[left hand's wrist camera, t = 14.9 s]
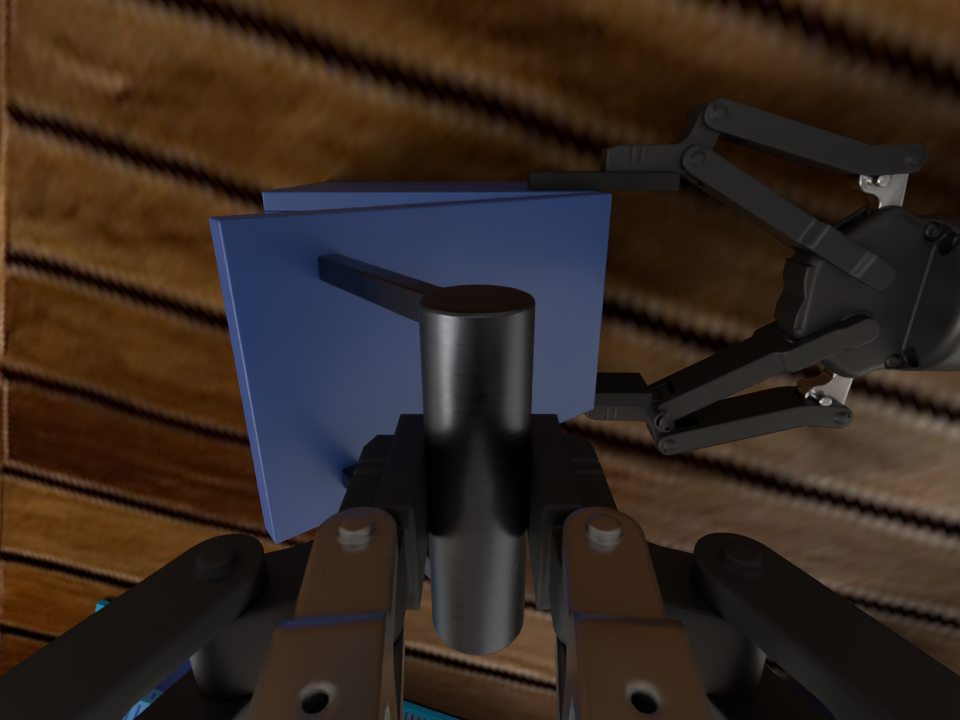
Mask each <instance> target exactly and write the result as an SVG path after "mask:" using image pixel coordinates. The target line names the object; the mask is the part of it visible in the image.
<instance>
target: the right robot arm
mask: <svg viewBox="0 0 960 720" xmlns="http://www.w3.org/2000/svg"><path fill="white" fill-rule="evenodd" d="M686 121H687V122H686V124H685V126H684V129H683V131H682V133H681V134H680V136H679V137H678V138H677V140H675V141H674V142H672V143H670V144H643V145H641V144H637V145H612V146H610V147H607V148H605V149H602V155H601V167H600V171H528V183H527V187H528V188H529V189H530V190H596V191H679V184H680V176H681V177H683V178H684V179H686V180H687V181H689V182H690V183H692V184H694V185H695V186H697V187H698V188H700V189H701V190H703V191H704V192H706V193H708V194H709V195H711V196H712V197H714V198H715V199H717V200H718V201H720V202H722V203H723V204H725V205H726V206H728V207H729V208H731V209H733V210H734V211H736V212H737V213H739V214H740V215H742V216H743V217H745V218H747V219H748V220H750V221H751V222H753V223H754V224H756V225H757V226H759V227H761V228H762V229H764V230H765V231H767V232H768V233H770V234H771V235H773V237H774V238H775V239H777V240H778V241H780V242H781V243H783V244H785V245H786V246H788V247H789V248H791V249H792V250H794V251H795V253H794V255H793V256H792V258H786V262H785V267H784V272H783V279H784V290H783V292H782V294H781V296H780V298H779V300H778V302H777V305H776V310H775V315H774V318H775V319H777V320H776V321H774V322H772V323H770V324H768V325H765V326H763V327H761V328H759V329H757V330H756V331H755V332H754V334H753V336H752V337H750V338H748V339H746V340H744V341H742V342H740V343H738V344H736V345H733V346H731V347H729V348H727V349H725V350H723V351H721V352H719V353H716V354H714V355H712V356H710V357H708V358H706V359H704V360H702V361H699V362H697V363H695V364H693V365H691V366H689V367H687V368H685V369H682V370H680V371H678V372H676V373H674V374H672V375H670V376H668V377H665V378H663V379H661V380H659V381H657V382H655V383H653V384H651V385H648V386H647V384H646V383H645V381H644V380H643V378H642V376H641V375H640V373H599V372H597V378H596V390H595V402H594V409H593V410H590V411H588V412H586V413H585V415H586V417H588V418H591V419H594V420H628V421H644V422H646V423H647V428H648V430H649V432H650V434H651V436H652V437H653V439H654V441H655V443H656V445H657V447H658V448H659V450H660V452H661V453H663V454H665V455H674V454H678V453H683V452H687V451H692V450H696V449H701V448H706V447H710V446H715V445H719V444H724V443H729V442H733V441H738V440H742V439H747V438H751V437H756V436H761V435H765V434H770V433H774V432H779V431H784V430H788V429H793V428H797V427H802V426H814V427H826V428H843V427H846V426H847V425H848V424H850V423H851V421H852V419H853V413H852V411H851V410H850V409H849V408H847V407H846V406H845V405H844V402H845V400H846V397H847V394H848V391H849V389H850V386H851V383H852V380H853V378H856V377H860V376H863V375H865V374H867V373H870V372H872V371H876V370H880V369H890V370H903V371H960V215H916V214H914V213H912V212H911V211H909V210H908V209H906V208H904V207H902V204H903V199H904V194H905V189H906V185H907V180H908V175H909V173H914V172H917V171H919V170H920V169H922V168H923V167H924V165H925V164H926V163H927V160H928V158H929V151H928V149H927V147H926V146H924V145H923V144H918V143H912V144H877V145H870V144H867V143H863V142H860V141H857V140H854V139H851V138H848V137H845V136H842V135H839V134H835V133H832V132H829V131H826V130H823V129H820V128H817V127H814V126H811V125H807V124H804V123H801V122H798V121H795V120H792V119H789V118H786V117H783V116H779V115H776V114H773V113H770V112H767V111H764V110H761V109H758V108H754V107H751V106H748V105H745V104H742V103H739V102H736V101H733V100H730V99H726V98H718V99H714V100H710V101H706V102H702V103H698V104H695V105H694V106H693V107H691V108H690V110H689V111H688V113H687V117H686ZM718 139H721V140H724V141H728V142H731V143H734V144H737V145H740V146H743V147H747V148H750V149H753V150H756V151H759V152H762V153H766V154H769V155H772V156H775V157H778V158H781V159H785V160H788V161H791V162H794V163H797V164H801V165H804V166H807V167H810V168H813V169H816V170H820V171H824V172H828V173H836V174H847V175H846V178H845V181H846V183H848V186H849V188H850V189H851V190H853V191H855V192H860V193H862V194H864V195H865V197H866V199H867V206H864V207H862V208H861V209H859V210H857V211H856V212H854V213H852V214H851V215H849V216H848V217H846V218H844V219H843V220H841V221H840V222H838V223H836V224H835V225H833V226H830V225H828V224H826V223H824V222H822V221H820V220H818V219H816V218H814V217H813V216H811V215H809V214H808V213H806V212H805V211H803V210H802V209H800V208H799V207H797V206H796V205H794V204H793V203H791V202H790V201H788V200H787V199H785V198H784V197H782V196H781V195H779V194H778V193H776V192H775V191H773V190H772V189H770V188H768V187H767V186H765V185H764V184H762V183H761V182H759V181H758V180H756V179H755V178H753V177H752V176H750V175H749V174H747V173H746V172H744V171H743V170H741V169H740V168H738V167H737V166H735V165H734V164H732V163H730V162H729V161H727V160H726V159H724V158H723V157H721V156H720V155H718V154H717V153H715V152H714V151H712V150H713V148H714V146H715V144H716V142H717V140H718ZM789 341H792V342H794V343H790V342H789ZM817 362H819V363H820V364H821V365H822V366H824V367H825V369H824V371H823V372H822V374H821V375H819V376H818V377H816V378H812V379H807V380H805V379H800V380H798V381H797V383H796V386H785V387H776V388H771V389H767V390H762V391H758V392H753V393H749V394H745V395H740V396H736V397H732V398H727V399H723V398H726V397H728V396H730V395H732V394H735V393H737V392H739V391H741V390H743V389H746V388H748V387H750V386H752V385H755V384H757V383H759V382H761V381H763V380H766V379H768V378H770V377H772V376H774V375H777V374H779V373H782V372H796V371H799V370H802V369H804V368H806V367H808V366H811V365H813V364H815V363H817ZM721 399H723V400H721Z"/></svg>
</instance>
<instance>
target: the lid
mask: <svg viewBox="0 0 960 720" xmlns="http://www.w3.org/2000/svg"><path fill="white" fill-rule="evenodd" d="M611 203H612V194H611V193H601V192H586V193H571V194H555V195H540V196H524V197H509V198H494V199H478V200H463V201H447V202H432V203H416V204H401V205H386V206H370V207H355V208H339V209H324V210H308V211H293V212H278V213H262V214H247V215H231V216H216V217H210V219H209V222H210V228H211V233H212V239H213V244H214V249H215V255H216V260H217V266H218V271H219V277H220V282H221V288H222V293H223V299H224V304H225V309H226V315H227V320H228V326H229V331H230V337H231V342H232V348H233V353H234V358H235V364H236V369H237V375H238V380H239V386H240V391H241V397H242V402H243V408H244V413H245V418H246V424H247V429H248V435H249V440H250V446H251V451H252V457H253V462H254V468H255V473H256V478H257V484H258V489H259V495H260V500H261V506H262V511H263V517H264V522H265V527H266V529H267V531H268V532H269V534H270V536H271V537H272V539H273V540H274V542H275V543H280V542H282V541H284V540H287V539H289V538H292V537H294V536H296V535H299V534H301V533H303V532H306V531H308V530H310V529H313V528H315V527H317V526H320V525H321V524H322V523H323V522H324V521H325V520H326V519H328V518H329V517H330V516H332V515H334V514H336V513H338V511H339V508H340V506H341V503H342V501H343V498H344V496H345V493H346V491H347V488H348V485H349V483H350V480H351V478H352V475H353V474H354V470H355V468H356V465H357V463H358V460H359V457H360V455H361V452H362V450H363V447H364V446H365V445H366V444H367V443H368V442H370V441H371V440H372V439H373V438H374V437H375V436H376V435H394V434H395V430H396V427H397V424H398V420H399V417H400V415H401V414H423V420H424V439H425V442H426V459H427V482H428V505H429V528H430V533H429V541H428V548H427V556H426V564H425V572H424V573H425V574H426V575H427V576H428V577H429V578H430V579H431V594H432V616H433V625H434V628H435V630H436V632H437V634H438V635H439V637H440V638H441V640H442V641H443V642H444V643H445V644H446V645H448V646H449V647H450V648H452V649H454V650H456V651H458V652H461V653H464V654H468V655H488V654H492V653H495V652H498V651H500V650H502V649H504V648H506V647H507V646H508V645H510V644H511V643H512V642H513V641H514V640H515V639H516V637H517V636H518V634H519V633H520V631H521V629H522V626H523V621H524V599H525V573H526V546H527V513H528V487H529V461H530V438H531V414H557V417H558V420H559V423H562V422H565V421H567V420H569V419H572V418H574V417H576V416H579V415H581V414H583V413H586V412H588V411H590V410H593V409H594V402H595V390H596V378H597V367H598V355H599V343H600V332H601V320H602V308H603V296H604V285H605V273H606V261H607V249H608V238H609V226H610V214H611Z"/></svg>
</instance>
